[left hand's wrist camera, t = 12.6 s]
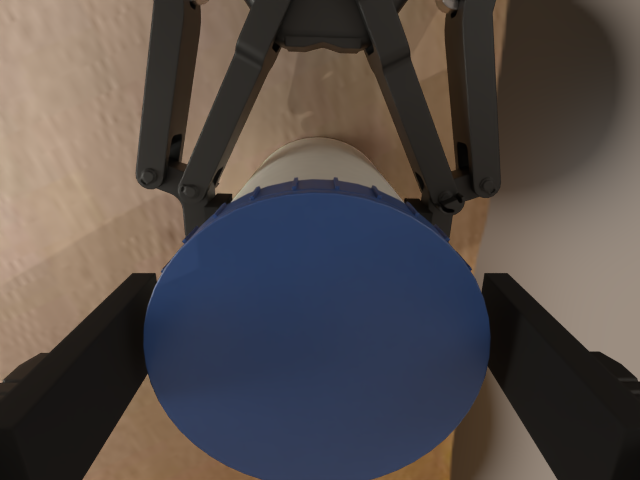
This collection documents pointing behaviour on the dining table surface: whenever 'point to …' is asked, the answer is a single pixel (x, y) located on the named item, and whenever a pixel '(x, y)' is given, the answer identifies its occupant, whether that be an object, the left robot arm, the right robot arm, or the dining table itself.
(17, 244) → the dining table surface
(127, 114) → the dining table surface
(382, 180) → the jar
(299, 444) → the lid
